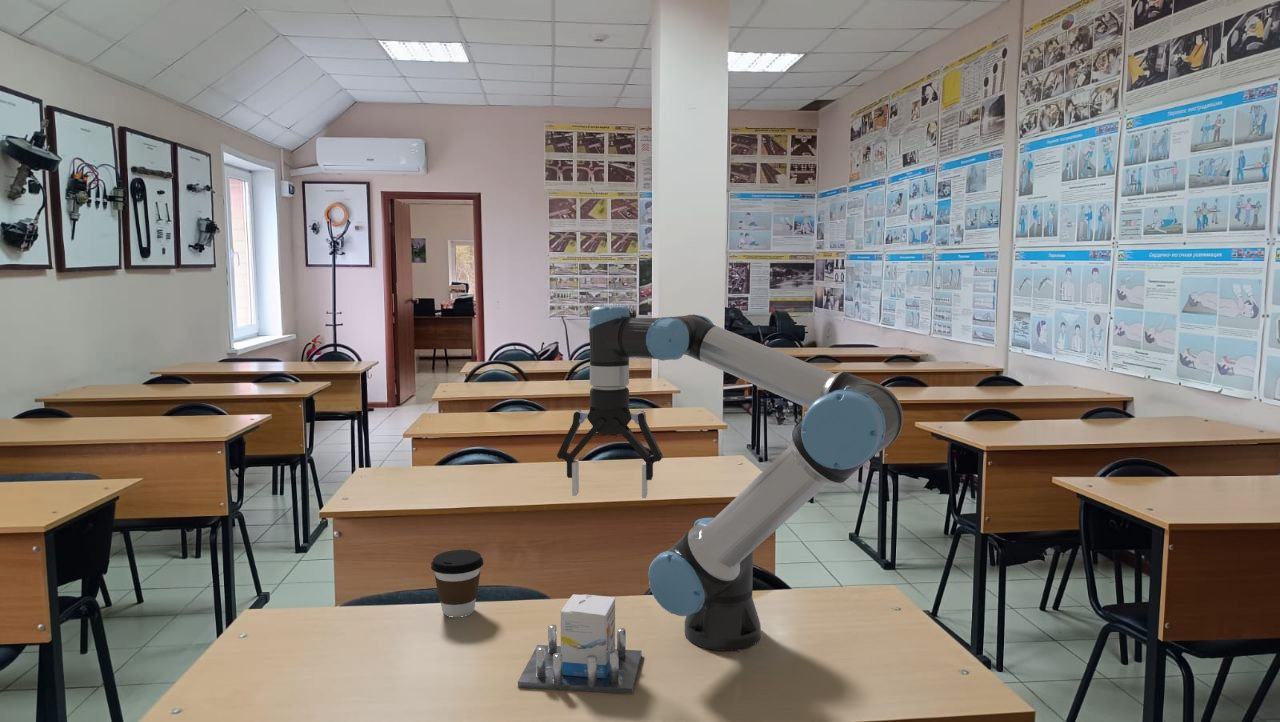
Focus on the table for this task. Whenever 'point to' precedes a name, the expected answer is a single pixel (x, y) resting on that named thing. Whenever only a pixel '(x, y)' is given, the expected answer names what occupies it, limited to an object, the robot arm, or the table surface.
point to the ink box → (587, 633)
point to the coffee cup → (457, 580)
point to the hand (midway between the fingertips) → (609, 495)
